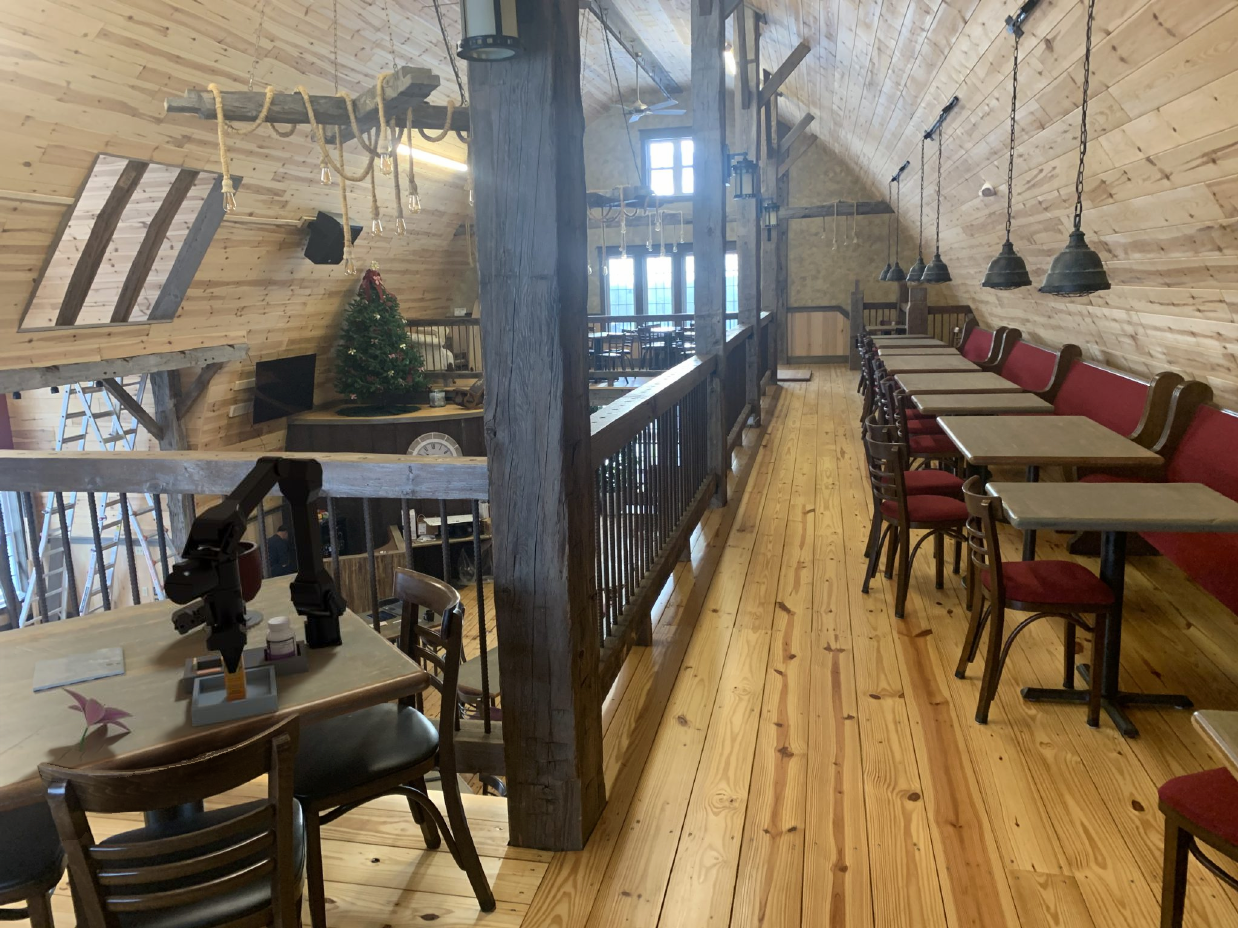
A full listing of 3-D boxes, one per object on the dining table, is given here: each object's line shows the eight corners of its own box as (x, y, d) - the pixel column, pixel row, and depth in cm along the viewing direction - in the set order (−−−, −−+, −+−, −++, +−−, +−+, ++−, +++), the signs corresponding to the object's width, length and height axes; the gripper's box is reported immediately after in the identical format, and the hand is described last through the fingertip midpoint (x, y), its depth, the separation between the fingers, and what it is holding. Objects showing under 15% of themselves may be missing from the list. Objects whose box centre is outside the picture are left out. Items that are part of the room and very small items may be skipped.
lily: (138, 753, 145) (150, 692, 148) (57, 751, 137) (72, 687, 140) (115, 750, 153) (127, 693, 156) (37, 748, 145) (51, 688, 148)
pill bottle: (273, 661, 177) (268, 615, 175) (301, 660, 177) (296, 614, 175) (265, 673, 171) (260, 625, 169) (294, 671, 172) (289, 624, 170)
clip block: (305, 653, 180) (303, 634, 179) (308, 671, 172) (306, 651, 171) (187, 673, 172) (185, 653, 171) (185, 693, 164) (182, 672, 163)
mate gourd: (279, 620, 198) (270, 534, 194) (218, 639, 188) (207, 549, 184) (245, 605, 208) (236, 522, 204) (185, 622, 198) (174, 536, 194)
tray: (275, 679, 168) (274, 664, 168) (278, 710, 156) (276, 694, 156) (196, 693, 163) (194, 678, 163) (193, 726, 151) (191, 710, 150)
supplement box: (226, 702, 157) (220, 649, 155) (228, 694, 161) (221, 642, 159) (246, 699, 159) (240, 646, 156) (247, 691, 162) (241, 639, 160)
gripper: (175, 576, 161) (185, 656, 164) (167, 609, 144) (179, 698, 147) (241, 567, 165) (250, 646, 168) (241, 599, 148) (251, 685, 151)
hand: (232, 668), depth 158 cm, fingers open, 4 cm apart
